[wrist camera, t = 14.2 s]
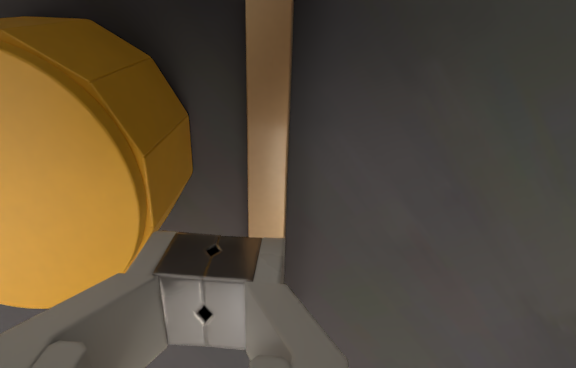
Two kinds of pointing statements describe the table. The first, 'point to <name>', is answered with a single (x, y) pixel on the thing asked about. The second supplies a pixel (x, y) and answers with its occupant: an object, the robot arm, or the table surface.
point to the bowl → (81, 156)
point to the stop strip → (268, 113)
